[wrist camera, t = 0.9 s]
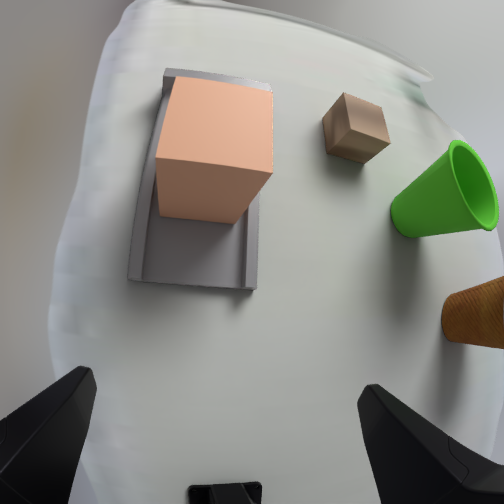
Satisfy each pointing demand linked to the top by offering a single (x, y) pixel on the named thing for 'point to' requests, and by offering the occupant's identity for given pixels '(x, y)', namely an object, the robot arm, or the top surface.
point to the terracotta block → (213, 150)
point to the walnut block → (355, 129)
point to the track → (191, 224)
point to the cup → (448, 197)
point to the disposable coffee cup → (476, 315)
